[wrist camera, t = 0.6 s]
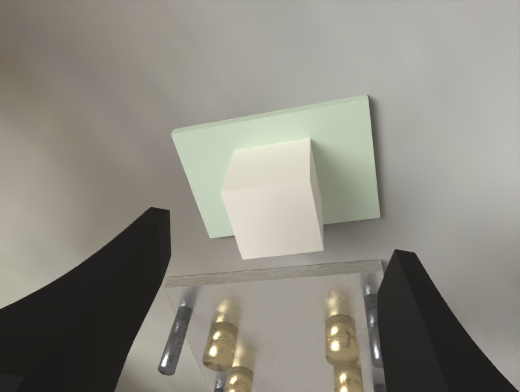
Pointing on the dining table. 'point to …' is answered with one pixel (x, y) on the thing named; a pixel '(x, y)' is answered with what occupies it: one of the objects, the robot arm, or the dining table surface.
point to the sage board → (283, 124)
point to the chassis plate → (280, 328)
